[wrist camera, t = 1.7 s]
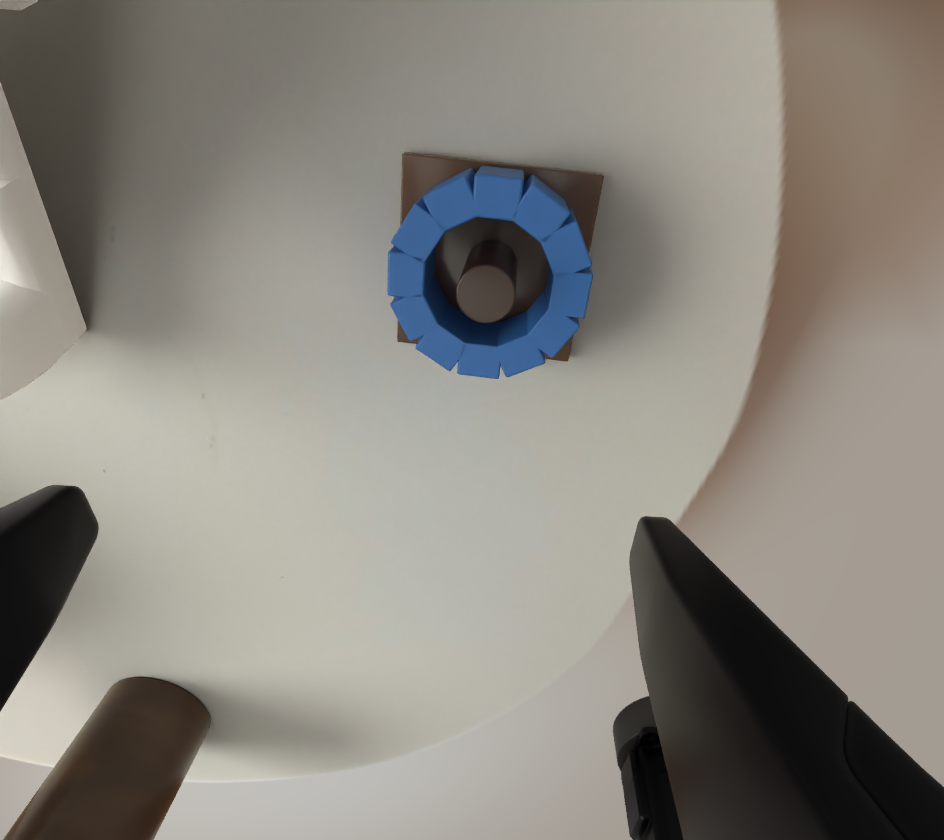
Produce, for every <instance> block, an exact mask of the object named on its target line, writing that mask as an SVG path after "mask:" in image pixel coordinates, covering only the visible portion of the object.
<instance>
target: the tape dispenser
mask: <svg viewBox="0 0 944 840" xmlns="http://www.w3.org/2000/svg"><path fill="white" fill-rule="evenodd" d="M36 2H38V0H0V9H9V10H20V11H21V10H23V9H24V8H26V7H28V6H30V5H32V4H34V3H36ZM86 330H87V328H86V325H85V322H84V319H83V316H82V313H81V310H80V307H79V305H78V302H77V299H76V296H75V293H74V290H73V287H72V285H71V282H70V279H69V276H68V273H67V270H66V268H65V265H64V262H63V259H62V256H61V253H60V250H59V248H58V245H57V242H56V239H55V236H54V233H53V231H52V228H51V225H50V222H49V219H48V216H47V213H46V211H45V208H44V205H43V202H42V199H41V196H40V193H39V191H38V188H37V185H36V182H35V179H34V176H33V174H32V171H31V168H30V165H29V162H28V159H27V156H26V154H25V151H24V148H23V145H22V142H21V139H20V136H19V134H18V131H17V128H16V125H15V122H14V119H13V117H12V114H11V111H10V108H9V105H8V102H7V99H6V97H5V94H4V91H3V88H2V85H1V82H0V400H1V399H3V398H5V397H7V396H9V395H11V394H13V393H15V392H16V391H18V390H20V389H21V388H23V387H25V386H26V385H28V384H29V383H31V382H32V381H34V380H35V379H36V378H38V377H39V376H41V375H42V374H43V373H44V372H45V371H47V370H48V369H49V368H50V367H51V366H52V365H53V364H54V363H56V362H57V361H58V360H59V359H60V358H61V357H62V355H63V354H64V353H65V352H66V351H67V350H68V349H69V348H70V347H71V346H72V345H73V344H74V343H75V342H76V341H77V340H78V339H79V338H80V336H81V335H82V334H83V333H84V332H85V331H86Z"/></svg>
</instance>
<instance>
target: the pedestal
mask: <svg viewBox="0 0 944 840" xmlns="http://www.w3.org/2000/svg"><path fill="white" fill-rule="evenodd" d="M209 728H210V716H209V713H208V712H207V710H206V708H205V707H204V706H203V704H202V703H201V702H200V701H199V700H198V699H197V698H195V697H194V696H193V695H191V694H190V693H188V692H187V691H185V690H183V689H181V688H180V687H178V686H175V685H173V684H170V683H167V682H164V681H161V680H157V679H151V678H129V679H124V680H121V681H119V682H117V683H116V684H114V685H113V686H112V687H111V688H110V689H109V691H108V692H107V694H106V695H105V696H104V698H103V699H102V701H101V702H100V703H99V705H98V706H97V708H96V709H95V711H94V712H93V713H92V715H91V716H90V718H89V719H88V720H87V722H86V723H85V725H84V726H83V727H82V729H81V730H80V732H79V733H78V735H77V736H76V737H75V739H74V740H73V742H72V743H71V744H70V746H69V747H68V749H67V750H66V751H65V753H64V754H63V756H62V757H61V759H60V760H59V761H58V763H57V764H56V766H55V767H54V768H53V770H52V771H51V773H50V774H49V775H48V777H47V778H46V780H45V781H44V783H43V784H42V785H41V787H40V788H39V790H38V791H37V793H36V794H35V795H34V797H33V798H32V799H31V801H30V803H29V804H28V805H27V806H26V808H25V809H24V811H23V812H22V814H21V815H20V816H19V818H18V819H17V821H16V822H15V824H14V825H13V826H12V828H11V829H10V831H9V832H8V833H7V835H6V836H5V838H4V839H3V840H153V839H154V838H155V836H156V834H157V831H158V830H159V828H160V826H161V824H162V822H163V820H164V817H165V816H166V813H167V812H168V810H169V808H170V805H171V804H172V802H173V800H174V798H175V796H176V794H177V792H178V790H179V788H180V786H181V784H182V782H183V780H184V778H185V776H186V774H187V772H188V770H189V768H190V766H191V764H192V762H193V760H194V758H195V756H196V754H197V752H198V750H199V748H200V746H201V744H202V742H203V740H204V738H205V736H206V734H207V732H208V730H209Z"/></svg>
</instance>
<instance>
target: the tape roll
mask: <svg viewBox="0 0 944 840" xmlns="http://www.w3.org/2000/svg"><path fill="white" fill-rule="evenodd" d="M476 217H481V218H490V219H499V220H508V221H513V222H515V223H516V224H517V225H518V226H520V227H521V228H522V229H524V230H525V231H526V232H528V233H529V234H530V235H531V236H533V237H534V238H535V239H537V240H538V241H539V242H540V243H541V244H542V247H543V250H544V252H545V255H546V257H547V260H548V262H549V270H548V276H547V282H546V288H545V289H544V290H543V292H542V293H541V294H540V295H539V297H538V298H537V299H536V300H535V302H534V303H533V304H532V305H531V307H530V308H529V309H528V310H527V311H526V312H523V313H521V314H519V315H516V316H514V317H511V318H509V319H506V320H504V321H501V322H497V321H496V322H492V323H481V322H477V321H474V320H472V319H470V318H469V317H468V316H466V315H465V314H464V313H463V312H462V311H460V310H459V309H457V308H456V307H454V306H453V305H452V304H450V303H449V302H447V300H446V298H445V296H444V294H443V292H442V290H441V287H440V285H439V283H438V281H437V279H436V277H435V275H434V274H435V257H436V245H437V244H438V242H439V241H440V239H441V238H442V236H443V235H444V233H445V232H446V231H448V230H451V229H453V228H455V227H457V226H459V225H461V224H463V223H466V222H468V221H470V220H472V219H474V218H476ZM391 243H392V244H393V245H394V247H393V248H392V249H391V250H390V251H389V253H388V295H389V296H395V298H394V299H393V301H392V302H391V304H390V305H391V307H392V309H393V311H394V313H395V315H396V317H397V319H398V321H399V322H400V324H401V326H402V328H403V330H404V332H405V334H406V336H407V337H408V339H409V340H410V341H413V340H415V339H417V338H419V341H418V343H417V345H416V349H417V350H419V351H420V352H422V353H423V354H425V355H426V356H428V357H429V358H431V359H432V360H434V361H435V362H437V363H438V364H440V365H441V366H443V367H444V368H446V369H447V370H449V371H451V369H452V368H453V367H454V366H455V364H456V363H457V362H458V371H457V373H458V374H461V375H469V376H477V377H486V378H494V379H498V378H499V373H500V365H501V367H502V369H503V371H504V374H505V376H506V377H510V376H512V375H515V374H518V373H520V372H523V371H526V370H528V369H531V368H534V367H536V366H539V365H542V364H544V363H545V355H544V353H545V354H547V355H548V356H549V357H551V358H553V357H554V356H555V355H556V354H557V353H558V351H559V350H560V349H561V348H562V347H563V346H564V345H565V343H566V342H567V341H568V340H569V339H570V338H571V336H572V335H573V334H574V333H575V332H576V331H577V330H578V328H579V327H580V324H579V320H578V318H584V317H585V313H586V308H587V303H588V298H589V293H590V288H591V283H592V278H593V274H592V272H591V269H590V266H591V265H592V262H591V259H590V256H589V253H588V251H587V248H586V245H585V242H584V239H583V236H582V234H581V231H580V228H579V225H578V222H577V220H576V218H575V216H574V213H573V211H572V209H571V208H569V209H568V206H567V204H566V202H565V200H564V199H563V198H562V197H561V196H560V195H558V194H557V193H556V192H555V191H553V190H552V189H551V188H550V187H548V186H547V185H546V184H545V183H543V182H542V181H541V180H540V179H538V178H537V177H536V176H535V175H530V177H529V178H528V180H527V181H526V182H525V184H524V172H523V171H522V170H518V169H509V168H500V167H490V166H481V167H480V169H479V170H478V171H477V173H476V174H475V172H474V170H473V169H472V168H469V169H467V170H465V171H463V172H461V173H459V174H457V175H455V176H453V177H451V178H449V179H447V180H445V181H443V182H441V183H439V184H437V185H435V186H434V187H433V188H432V189H431V190H429V191H428V192H427V193H426V194H425V195H424V196H422V197H421V198H420V199H419V200H418V201H417V202H416V203H415V204H414V205H413V207H412V208H411V210H410V212H409V213H408V215H407V216H406V218H405V220H404V221H403V223H402V225H401V226H400V228H399V229H398V231H397V233H396V234H395V236H394V237H393V239H392V241H391Z"/></svg>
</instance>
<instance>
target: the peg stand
mask: <svg viewBox="0 0 944 840" xmlns="http://www.w3.org/2000/svg"><path fill="white" fill-rule="evenodd" d="M481 166H490V167H500V168H509V169H518V170H522V171H523V172H524V184H525V182H526V181H527V180H528V178H529V177H530V175H535V176H536V177H537V178H538V179H540V180H541V181H542V182H543V183H545V184H546V185H547V186H548V187H550V188H551V189H552V190H553V191H555V192H556V193H557V194H558V195H560V196H561V197H562V198H563V199H564V200H565V202H566V204H567V206H568V209H569V208H571V209H572V211H573V213H574V216H575V218H576V220H577V222H578V225H579V228H580V231H581V234H582V236H583V239H584V242H585V245H586V248H587V251H588V253H589V250H590V245H591V240H592V235H593V230H594V224H595V219H596V214H597V209H598V204H599V198H600V193H601V188H602V183H603V178H604V176H603V175H602V174H598V173H589V172H580V171H571V170H561V169H552V168H543V167H534V166H525V165H515V164H506V163H497V162H488V161H479V160H469V159H460V158H451V157H442V156H432V155H423V154H414V153H403V155H402V188H401V225H402V223H403V221H404V220H405V218H406V216H407V215H408V213H409V212H410V210H411V208H412V207H413V205H414V204H415V203H416V202H417V201H418V200H419V199H420V198H421V197H422V196H424V195H425V194H426V193H427V192H428V191H429V190H431V189H432V188H433V187H434V186H435V185H437V184H439V183H441V182H443V181H445V180H447V179H449V178H451V177H453V176H455V175H457V174H459V173H461V172H463V171H465V170H467V169H469V168H472V169H473V170H474V172H475V174H476V173H477V171H478V170H479V169H480V167H481ZM401 225H400V226H401ZM548 270H549V262H548V260H547V257H546V255H545V252H544V250H543V247H542V244H541V243H540V242H539V241H538V240H537V239H535V238H534V237H533V236H531V235H530V234H529V233H528V232H526V231H525V230H524V229H522V228H521V227H520V226H518V225H517V224H516V223H515V222H513V221H508V220H499V219H490V218H481V217H476V218H474V219H472V220H470V221H468V222H466V223H463V224H461V225H459V226H457V227H455V228H453V229H451V230H448V231H446V232H445V233H444V235H443V236H442V238H441V239H440V241H439V242H438V244H437V245H436V257H435V274H434V275H435V277H436V279H437V281H438V283H439V285H440V287H441V290H442V292H443V294H444V296H445V298H446V300H447V302H449V303H450V304H452V305H453V306H454V307H456V308H457V309H459V310H460V311H462V312H463V313H464V314H465V315H466V316H468V317H469V318H470V319H472V320H474V321H477V322H481V323H492V322H496V321H497V322H501V321H504V320H506V319H509V318H511V317H514V316H516V315H519V314H521V313H523V312H526V311H527V310H528V309H529V308H530V307H531V305H532V304H533V303H534V302H535V300H536V299H537V298H538V297H539V295H540V294H541V293H542V292H543V290H544V289H545V288H546V282H547V276H548ZM572 338H573V335H572V336H571V338H570V339H569V340H568V341H567V342H566V343H565V345H564V346H563V347H562V348H561V349H560V350H559V351H558V353H557V354H556V355H555V356H554V357H553V358H551V357H549V356H548V355H547V354H545V353H544V355H545V359H551V360H560V361H568V359H569V354H570V349H571V344H572ZM397 341H398V342H406V343H414V344H417V343H418V341H419V338H417V339H415V340H413V341H410V340H409V339H408V337H407V336H406V334H405V332H404V330H403V328H402V326H401V324H400V322H399V321H398V335H397Z"/></svg>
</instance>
